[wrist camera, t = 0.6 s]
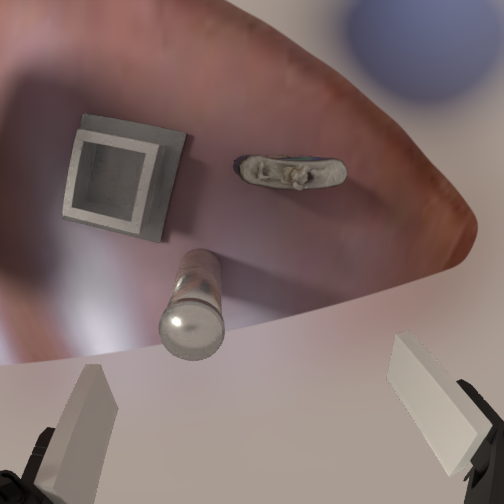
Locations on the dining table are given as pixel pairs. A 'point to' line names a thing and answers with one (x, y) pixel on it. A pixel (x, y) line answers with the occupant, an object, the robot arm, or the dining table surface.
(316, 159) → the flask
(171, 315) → the silver canister
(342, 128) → the dining table surface
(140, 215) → the duct collar
